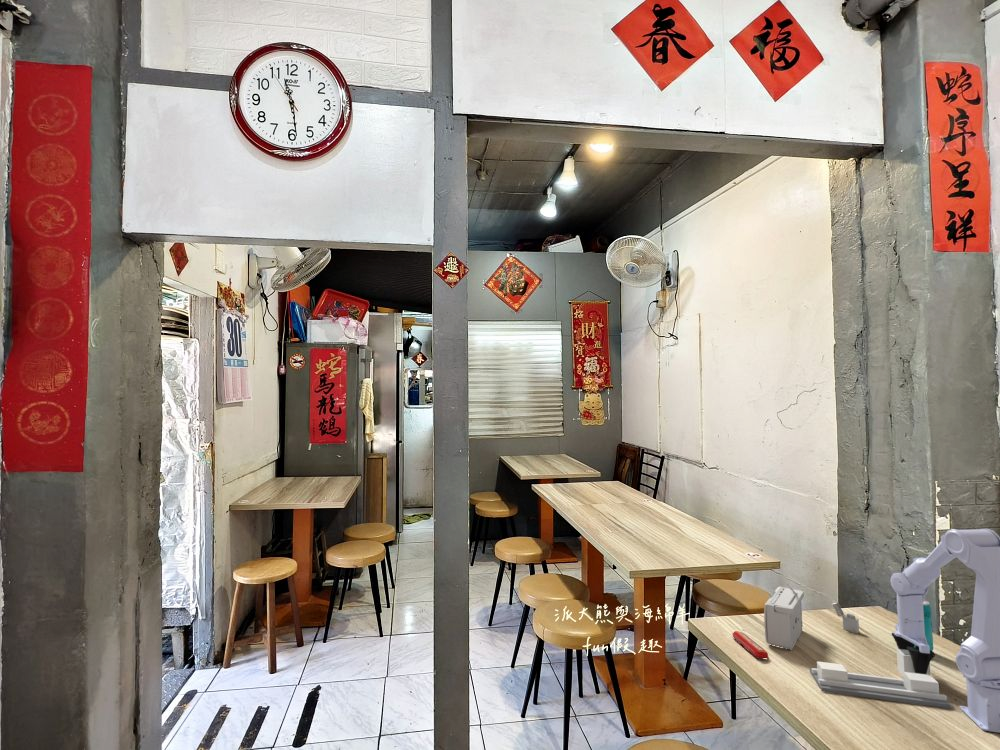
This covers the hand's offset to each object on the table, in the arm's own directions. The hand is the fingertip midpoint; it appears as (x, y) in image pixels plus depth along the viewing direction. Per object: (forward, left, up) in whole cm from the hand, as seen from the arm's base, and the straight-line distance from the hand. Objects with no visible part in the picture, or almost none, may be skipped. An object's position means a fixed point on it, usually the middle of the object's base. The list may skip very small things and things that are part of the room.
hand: (913, 668), depth 141 cm
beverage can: (+17, -9, -2) cm, 19 cm away
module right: (-11, +3, -2) cm, 12 cm away
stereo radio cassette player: (+16, +28, -2) cm, 32 cm away
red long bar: (+5, +40, -2) cm, 41 cm away
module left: (-11, +23, -2) cm, 26 cm away
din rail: (-11, +13, -2) cm, 17 cm away
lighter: (+29, +7, -2) cm, 30 cm away
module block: (0, 0, -2) cm, 2 cm away
